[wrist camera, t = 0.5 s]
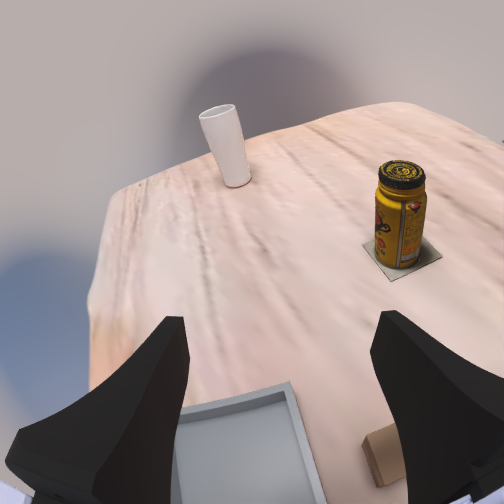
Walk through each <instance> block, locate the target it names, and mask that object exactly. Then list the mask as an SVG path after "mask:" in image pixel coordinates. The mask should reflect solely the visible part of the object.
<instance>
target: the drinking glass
mask: <svg viewBox="0 0 504 504" xmlns="http://www.w3.org/2000/svg"><path fill="white" fill-rule="evenodd" d="M199 120H200V123H201V127H202V130H203V133H204V135H205V138H206V140H207V143H208V145H209V147H210V149H211V152H212V154H213V156H214V158H215V161H216V163H217V165H218V168H219V170H220V172H221V174H222V177H223V180H224V183H225V185H226V186H228V187H239V186H242V185H244V184H246V183H248V182H249V180H250V179H251V173H250V170H249V165H248V160H247V155H246V150H245V144H244V139H243V134H242V128H241V124H240V120H239V117H238V114H237V111H236V108H235V106H234V105H222V106H218V107H214V108H212V109H209V110H207V111H205V112H203V113H201V114H200V115H199Z"/></svg>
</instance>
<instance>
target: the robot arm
mask: <svg viewBox="0 0 504 504" xmlns="http://www.w3.org/2000/svg"><path fill="white" fill-rule="evenodd" d="M370 355H371V359H372V363H373V367H374V370H375V374H376V376H377V379H378V381H379V384H380V386H381V389H382V391H383V393H384V396H385V398H386V401H387V403H388V406H389V408H390V410H391V413H392V415H393V418H394V421H395V424H396V427H397V430H398V435H399V439H400V443H401V447H402V452H403V458H404V463H405V470H406V478H407V486H408V504H504V378H501V377H499V376H497V375H495V374H492V373H490V372H488V371H486V370H484V369H482V368H480V367H478V366H476V365H474V364H473V363H471V362H469V361H467V360H465V359H464V358H462V357H461V356H459V355H457V354H456V353H454V352H453V351H451V350H450V349H448V348H447V347H445V346H444V345H443V344H441V343H440V342H438V341H437V340H436V339H434V338H433V337H432V336H430V335H429V334H428V333H426V332H425V331H424V330H422V329H421V328H420V327H418V326H417V325H416V324H414V323H413V322H412V321H410V320H409V319H408V318H406V317H405V316H404V315H402V314H401V313H399V312H398V311H396V310H392V311H382V312H381V315H380V319H379V322H378V326H377V329H376V333H375V336H374V339H373V343H372V346H371V349H370ZM189 364H190V355H189V349H188V343H187V337H186V331H185V325H184V319H183V317H177V316H166V317H165V318H164V319H163V320H162V322H161V323H160V324H159V325H158V326H157V327H156V329H155V330H154V331H153V332H152V333H151V335H150V336H149V337H148V338H147V339H146V340H145V341H144V343H143V344H142V345H141V346H140V347H139V348H138V349H137V350H136V351H135V352H134V353H133V355H132V356H131V357H130V358H129V359H128V360H127V361H126V362H125V363H124V364H123V365H122V366H121V367H120V368H118V369H117V370H116V371H115V372H114V373H113V374H112V375H111V376H110V377H109V378H107V379H106V380H105V381H104V382H103V383H101V384H100V385H99V386H98V387H96V388H95V389H94V390H92V391H91V392H89V393H88V394H86V395H85V396H84V397H82V398H81V399H79V400H78V401H76V402H75V403H73V404H72V405H70V406H68V407H66V408H65V409H63V410H61V411H59V412H58V413H56V414H54V415H52V416H50V417H48V418H45V419H43V420H41V421H39V422H36V423H34V424H31V425H29V426H27V427H24V428H21V429H19V431H18V433H17V435H16V437H15V439H14V441H13V443H12V445H11V448H10V450H9V452H8V454H7V457H6V459H5V463H6V466H7V467H8V468H9V470H10V471H12V472H13V473H14V474H15V475H16V476H17V477H18V478H20V479H21V480H22V481H23V482H24V483H26V484H27V485H28V486H29V487H31V488H32V489H33V490H35V495H34V498H33V497H32V496H30V495H28V494H26V493H25V492H23V491H21V490H19V489H17V488H15V487H13V486H11V485H9V484H7V483H6V482H4V481H2V480H1V481H0V504H170V503H171V477H172V462H173V451H174V442H175V436H176V430H177V426H178V421H179V417H180V413H181V408H182V404H183V400H184V396H185V391H186V387H187V382H188V374H189Z"/></svg>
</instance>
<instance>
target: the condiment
mask: <svg viewBox="0 0 504 504" xmlns="http://www.w3.org/2000/svg"><path fill="white" fill-rule="evenodd" d="M378 175H379V181H378V188H377V189H376V193H375V194H376V196H375V205H376V206H375V240H373V241H370V242H368V243H365V244H362V245H363V246H364V248H365V249H366V250H367V251H368V253H369V254H370V255H371V257H372V258H373V259H374V261H375V262H376V263H377V264H378V266H379V267H380V268H381V269H382V270H383V272H384V273H385V274H386V275H387V277H388V278H389V279H390V281H393V280H395V279H397V278H400V277H402V276H404V275H406V274H409V273H411V272H413V271H415V270H417V269H418V268H420V267H422V266H424V265H426V264H428V263H431V262H433V261H434V260H436V259H438V258H440V257H442V256H443V255H441V254H440V253H439V252H438V251H437V250H436V249H435V248H434V247H433V246H432V245H431V244H430V243H429V242H428V241H427V240H426V239H425V238H424V237H423V236H422V234H423V227H424V220H425V213H426V204H427V195H426V192H425V179H426V175H425V173H424V170H423V169H422V168H421V167H420V166H418V165H417V164H414V163H412V162H409V161H403V160H394V161H389V162H386V163H384V164H383V165H382V166H380V168H379V174H378ZM419 259H420V260H419Z"/></svg>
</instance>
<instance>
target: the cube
mask: <svg viewBox="0 0 504 504" xmlns="http://www.w3.org/2000/svg"><path fill="white" fill-rule="evenodd" d="M362 448H363V450H364V453H365V456H366V459H367V462H368V464H369V467H370V470H371V473H372V476H373V479H374V481H375V484H376V487H381V486H385V485H387V484H390V483H392V482H394V481H396V480H399V479H401V478H403V477H405V476H406V470H405V463H404V458H403V452H402V447H401V443H400V439H399V435H398V430H397V427H396V424H395V423H394V424H391V425H389V426H387V427H385V428H382V429H380V430H378V431H375V432H373V433H370V434H368V435H366V437H365V439H364V441H363V443H362Z"/></svg>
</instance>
